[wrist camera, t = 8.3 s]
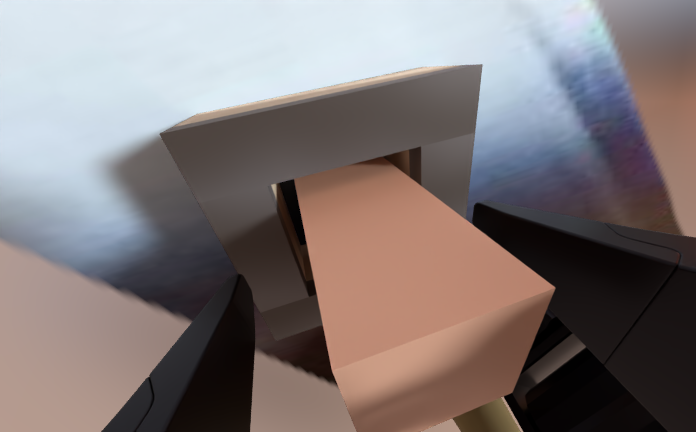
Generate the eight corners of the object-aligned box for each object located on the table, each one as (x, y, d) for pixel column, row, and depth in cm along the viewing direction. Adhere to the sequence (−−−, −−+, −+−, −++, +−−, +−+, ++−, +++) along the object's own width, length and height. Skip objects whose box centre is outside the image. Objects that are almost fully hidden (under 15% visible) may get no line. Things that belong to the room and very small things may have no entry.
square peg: (376, 211, 15) (512, 392, 6) (311, 230, 14) (366, 454, 6) (368, 145, 13) (555, 288, 4) (291, 165, 12) (332, 370, 4)
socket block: (421, 237, 17) (459, 278, 13) (275, 282, 15) (276, 341, 12) (420, 67, 11) (482, 64, 8) (197, 113, 10) (159, 133, 7)
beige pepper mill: (428, 383, 28) (503, 533, 19) (416, 360, 25) (501, 528, 16) (474, 359, 28) (572, 497, 19) (469, 333, 25) (584, 484, 16)
